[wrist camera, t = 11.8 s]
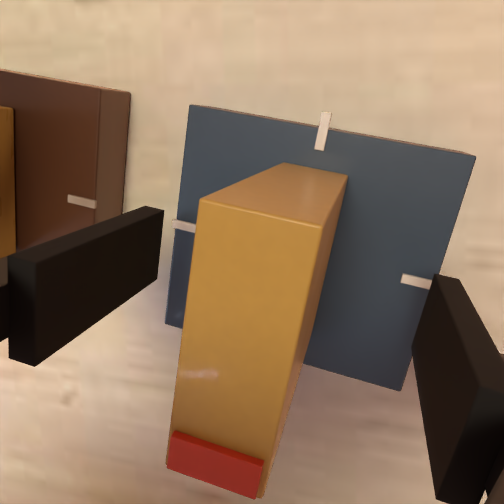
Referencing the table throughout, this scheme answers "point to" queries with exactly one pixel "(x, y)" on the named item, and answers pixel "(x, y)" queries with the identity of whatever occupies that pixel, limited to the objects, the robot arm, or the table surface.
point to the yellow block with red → (7, 183)
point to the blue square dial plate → (338, 228)
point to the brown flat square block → (64, 154)
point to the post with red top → (249, 321)
